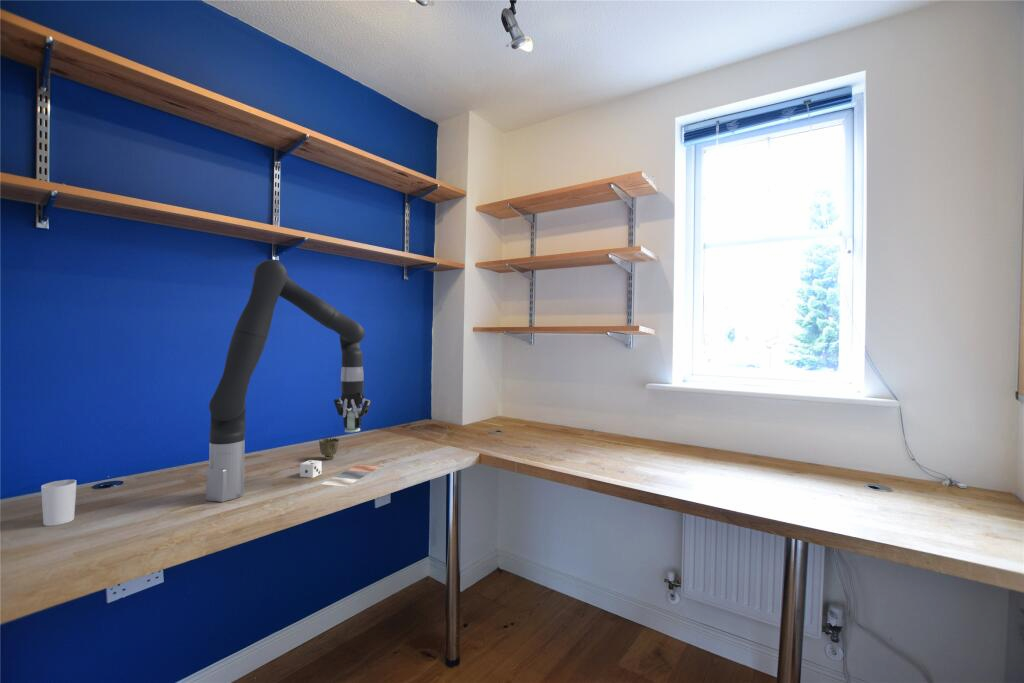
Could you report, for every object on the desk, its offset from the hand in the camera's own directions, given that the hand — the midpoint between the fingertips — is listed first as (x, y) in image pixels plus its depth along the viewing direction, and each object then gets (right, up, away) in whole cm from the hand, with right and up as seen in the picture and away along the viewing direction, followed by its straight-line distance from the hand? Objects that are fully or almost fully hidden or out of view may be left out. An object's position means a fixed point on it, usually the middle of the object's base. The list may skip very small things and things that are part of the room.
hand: (352, 427), depth 159 cm
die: (-15, -18, +1) cm, 23 cm away
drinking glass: (-63, -17, -40) cm, 77 cm away
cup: (-18, -17, +23) cm, 34 cm away
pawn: (0, -1, 0) cm, 1 cm away
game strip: (-1, -18, +2) cm, 18 cm away
